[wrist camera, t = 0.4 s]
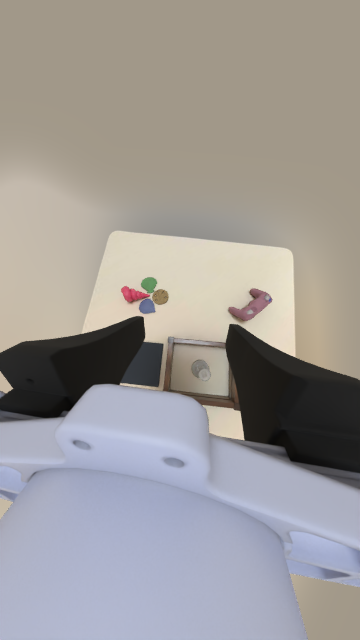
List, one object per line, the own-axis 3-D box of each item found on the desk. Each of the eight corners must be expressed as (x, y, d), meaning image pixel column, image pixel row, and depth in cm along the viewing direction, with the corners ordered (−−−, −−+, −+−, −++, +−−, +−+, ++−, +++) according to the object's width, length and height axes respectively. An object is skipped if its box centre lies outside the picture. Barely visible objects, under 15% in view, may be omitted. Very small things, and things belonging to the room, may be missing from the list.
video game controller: (233, 320, 40) (251, 325, 33) (225, 308, 39) (243, 310, 32) (257, 300, 41) (280, 300, 34) (251, 287, 40) (272, 285, 33)
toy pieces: (134, 320, 40) (128, 317, 35) (122, 288, 42) (115, 281, 38) (172, 304, 40) (171, 299, 36) (159, 273, 42) (156, 265, 38)
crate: (233, 402, 34) (241, 410, 29) (164, 394, 35) (161, 401, 30) (234, 344, 37) (241, 343, 32) (170, 338, 38) (168, 336, 33)
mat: (158, 386, 36) (158, 387, 35) (117, 381, 36) (116, 382, 36) (163, 343, 38) (163, 343, 37) (124, 340, 38) (124, 340, 38)
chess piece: (198, 380, 35) (202, 392, 26) (188, 365, 36) (189, 372, 27) (211, 371, 36) (221, 379, 26) (202, 356, 37) (208, 359, 27)
